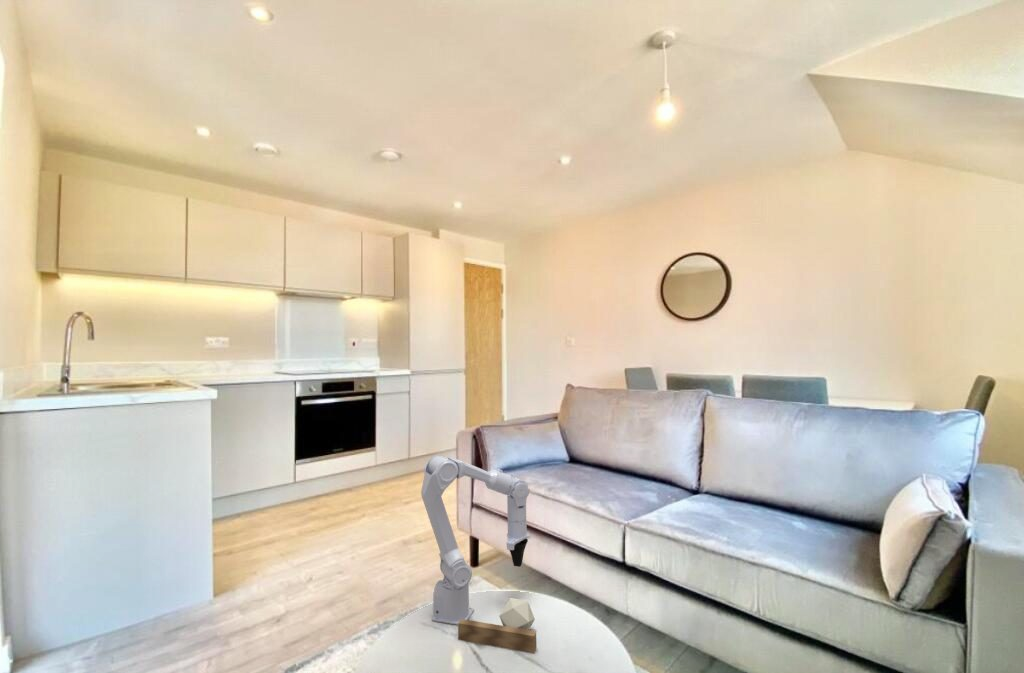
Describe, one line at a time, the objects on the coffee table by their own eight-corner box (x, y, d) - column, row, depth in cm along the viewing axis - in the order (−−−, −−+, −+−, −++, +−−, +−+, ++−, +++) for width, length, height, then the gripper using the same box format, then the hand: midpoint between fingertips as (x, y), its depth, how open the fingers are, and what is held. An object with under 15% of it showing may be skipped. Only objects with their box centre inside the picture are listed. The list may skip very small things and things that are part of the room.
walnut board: (458, 639, 110) (458, 623, 110) (461, 635, 112) (461, 618, 112) (534, 653, 104) (534, 636, 104) (536, 648, 106) (536, 631, 106)
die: (539, 630, 114) (524, 591, 120) (538, 630, 107) (523, 589, 112) (511, 645, 113) (497, 605, 118) (508, 646, 106) (494, 604, 111)
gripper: (523, 528, 123) (523, 578, 122) (535, 512, 137) (536, 556, 136) (499, 526, 126) (500, 575, 124) (514, 510, 139) (514, 554, 138)
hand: (517, 565), depth 130 cm, fingers closed
